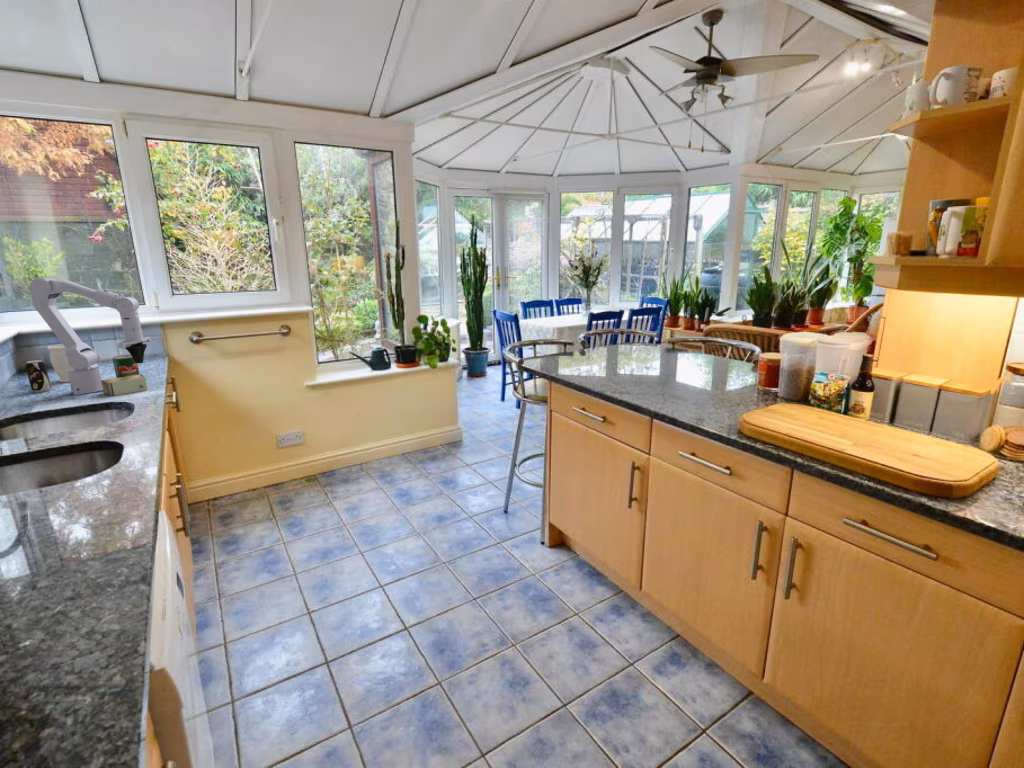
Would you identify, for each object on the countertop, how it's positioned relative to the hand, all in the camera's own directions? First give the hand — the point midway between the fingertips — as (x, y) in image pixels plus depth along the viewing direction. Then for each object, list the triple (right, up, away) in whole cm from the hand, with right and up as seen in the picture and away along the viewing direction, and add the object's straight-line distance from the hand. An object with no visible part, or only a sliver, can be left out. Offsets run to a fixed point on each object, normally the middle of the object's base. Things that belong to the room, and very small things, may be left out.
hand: (139, 363), depth 200 cm
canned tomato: (-12, -8, +10) cm, 17 cm away
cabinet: (-3, -11, -2) cm, 12 cm away
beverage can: (-37, -11, -1) cm, 39 cm away
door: (0, -12, -5) cm, 13 cm away
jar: (-39, -7, +15) cm, 43 cm away
